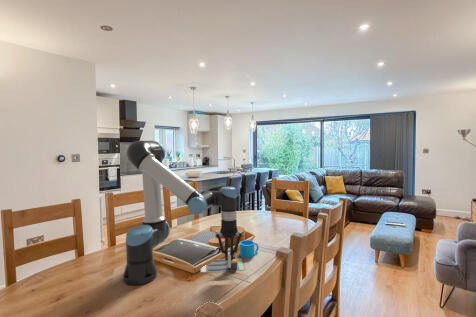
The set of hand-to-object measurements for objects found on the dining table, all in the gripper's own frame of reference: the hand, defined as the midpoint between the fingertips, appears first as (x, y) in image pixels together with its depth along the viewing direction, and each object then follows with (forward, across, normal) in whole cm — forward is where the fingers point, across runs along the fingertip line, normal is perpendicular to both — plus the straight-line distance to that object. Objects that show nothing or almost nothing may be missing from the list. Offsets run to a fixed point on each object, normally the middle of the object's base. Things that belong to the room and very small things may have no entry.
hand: (229, 266), depth 129 cm
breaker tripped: (+1, +2, 0) cm, 3 cm away
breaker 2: (+1, +2, +5) cm, 5 cm away
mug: (+3, +13, +17) cm, 22 cm away
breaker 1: (+1, +2, +10) cm, 10 cm away
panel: (+3, -3, +5) cm, 7 cm away
